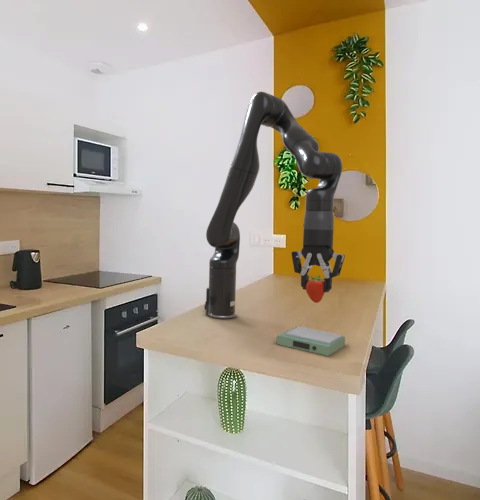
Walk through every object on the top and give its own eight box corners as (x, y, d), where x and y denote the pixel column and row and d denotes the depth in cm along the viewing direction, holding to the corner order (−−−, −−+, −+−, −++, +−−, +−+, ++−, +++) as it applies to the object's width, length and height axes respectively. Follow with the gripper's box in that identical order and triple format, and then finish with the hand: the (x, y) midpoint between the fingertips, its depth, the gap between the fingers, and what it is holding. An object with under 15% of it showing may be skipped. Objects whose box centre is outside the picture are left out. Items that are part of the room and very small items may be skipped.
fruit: (326, 305, 110) (327, 275, 110) (305, 304, 112) (306, 274, 111) (324, 301, 115) (325, 272, 115) (304, 300, 117) (305, 271, 116)
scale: (276, 344, 115) (276, 333, 114) (295, 335, 124) (296, 324, 123) (327, 356, 105) (328, 344, 105) (344, 345, 114) (345, 334, 114)
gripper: (351, 228, 110) (348, 292, 111) (298, 226, 119) (296, 285, 121) (341, 229, 104) (337, 296, 106) (286, 227, 114) (284, 288, 115)
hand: (315, 290), depth 113 cm, fingers closed on fruit, 5 cm apart
